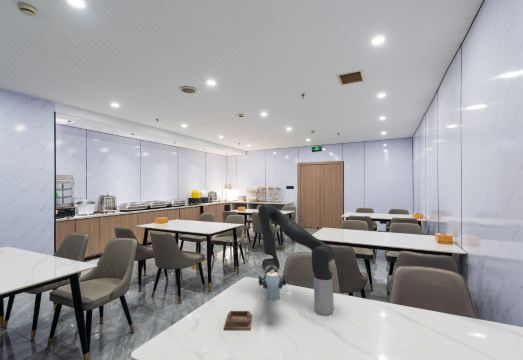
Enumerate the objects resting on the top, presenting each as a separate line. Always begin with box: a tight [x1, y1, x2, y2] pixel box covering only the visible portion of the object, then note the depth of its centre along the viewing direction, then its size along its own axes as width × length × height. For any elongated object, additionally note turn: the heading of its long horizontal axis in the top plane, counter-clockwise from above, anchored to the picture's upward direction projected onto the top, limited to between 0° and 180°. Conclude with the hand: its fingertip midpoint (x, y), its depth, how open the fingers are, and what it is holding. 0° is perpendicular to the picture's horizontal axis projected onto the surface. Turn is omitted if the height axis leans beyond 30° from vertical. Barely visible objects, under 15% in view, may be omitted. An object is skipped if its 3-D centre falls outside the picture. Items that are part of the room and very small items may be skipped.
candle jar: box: [265, 270, 281, 302], centre depth 115 cm, size 6×6×13 cm
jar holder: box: [223, 310, 253, 331], centre depth 115 cm, size 12×12×3 cm
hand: (272, 286), depth 113 cm, fingers closed on candle jar, 6 cm apart
